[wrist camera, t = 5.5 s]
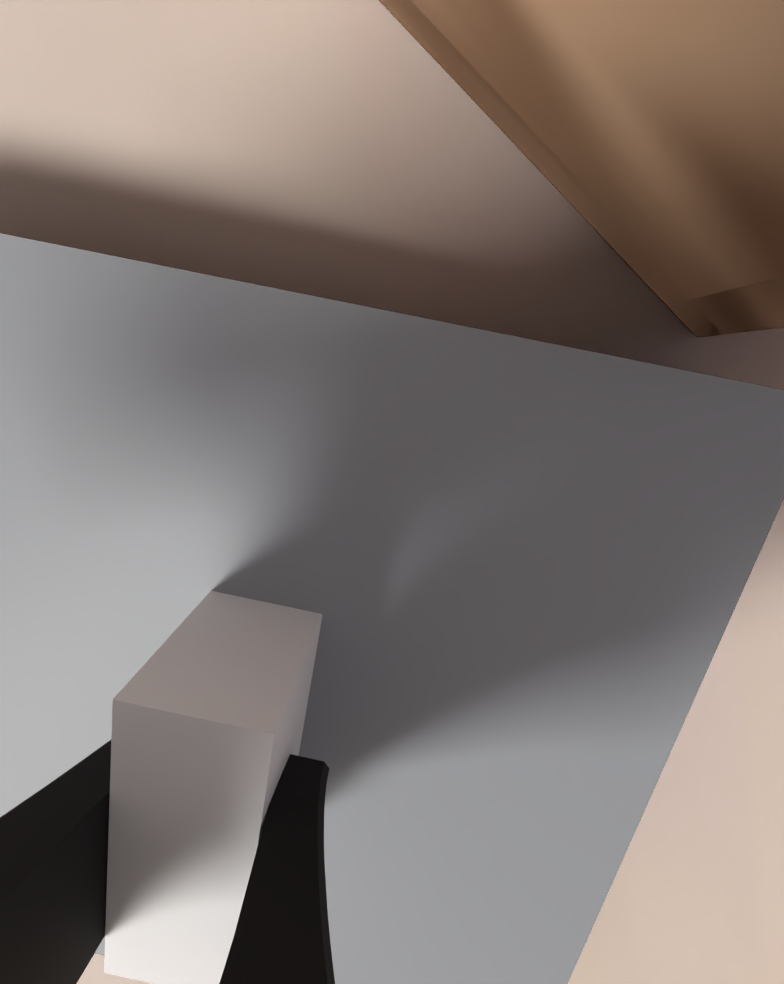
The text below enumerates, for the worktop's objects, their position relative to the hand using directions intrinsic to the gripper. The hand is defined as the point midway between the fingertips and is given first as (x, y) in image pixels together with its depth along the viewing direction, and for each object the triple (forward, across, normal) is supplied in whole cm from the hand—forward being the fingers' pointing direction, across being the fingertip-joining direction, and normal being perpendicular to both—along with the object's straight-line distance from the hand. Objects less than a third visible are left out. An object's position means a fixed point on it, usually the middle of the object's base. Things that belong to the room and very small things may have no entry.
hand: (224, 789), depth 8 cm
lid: (+2, 0, 0) cm, 2 cm away
